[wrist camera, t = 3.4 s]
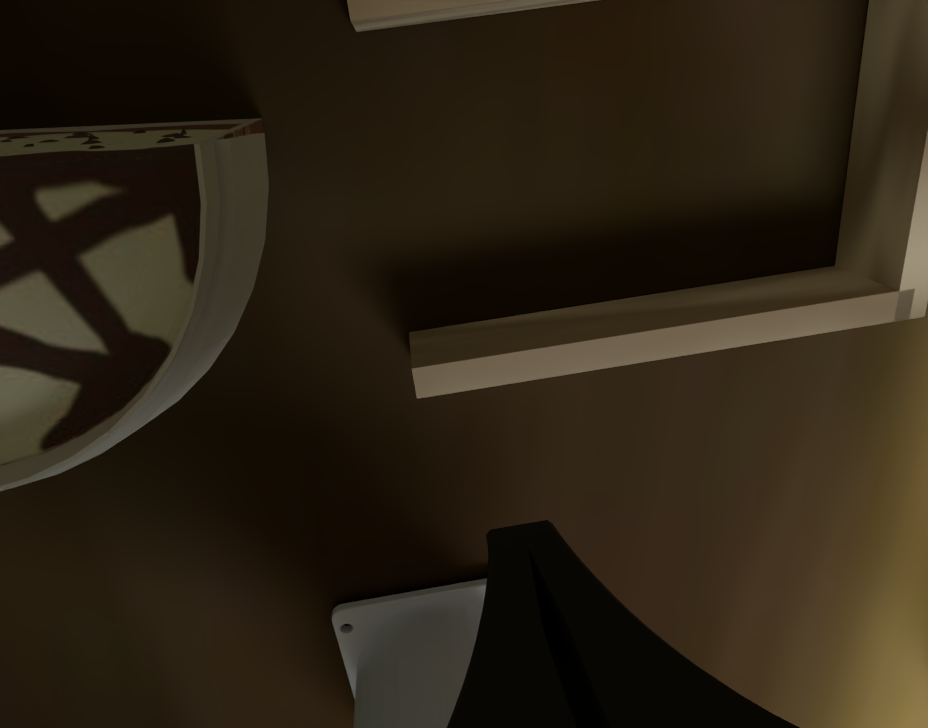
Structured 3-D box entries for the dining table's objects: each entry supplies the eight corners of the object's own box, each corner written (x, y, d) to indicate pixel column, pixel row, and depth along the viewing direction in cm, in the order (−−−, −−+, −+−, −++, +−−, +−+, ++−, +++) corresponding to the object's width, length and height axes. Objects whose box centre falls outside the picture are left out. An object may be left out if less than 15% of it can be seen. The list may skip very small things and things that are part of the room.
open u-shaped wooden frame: (858, 288, 22) (924, 316, 19) (413, 359, 21) (416, 398, 19) (912, -82, 18) (1008, -114, 15) (349, -10, 17) (341, -30, 14)
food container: (-57, 345, 19) (-454, 571, 10) (-144, 136, 17) (-768, 190, 8) (340, 316, 20) (300, 498, 11) (315, 115, 18) (237, 141, 9)
